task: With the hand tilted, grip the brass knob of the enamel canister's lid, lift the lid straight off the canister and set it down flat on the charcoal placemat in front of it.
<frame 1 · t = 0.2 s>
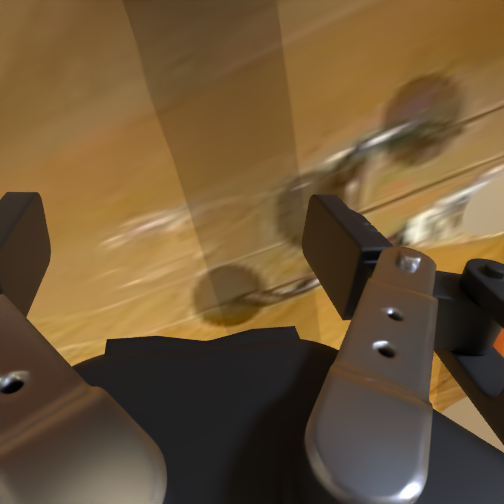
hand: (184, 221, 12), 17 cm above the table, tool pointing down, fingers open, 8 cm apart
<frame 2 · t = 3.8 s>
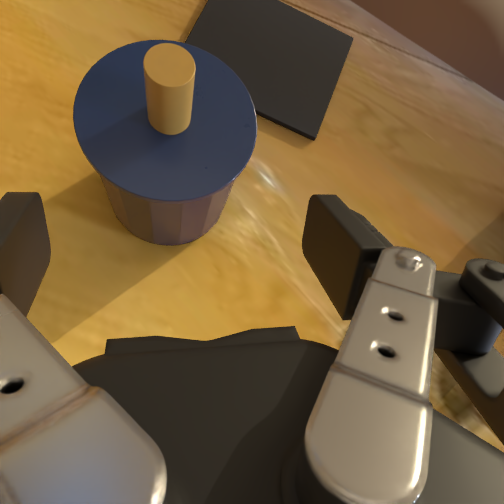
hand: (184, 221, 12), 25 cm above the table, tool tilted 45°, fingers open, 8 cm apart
lid: (169, 121, 27), point 12 cm above the table, touching canister
mat: (266, 56, 45), on the table
canister: (169, 191, 39), on the table
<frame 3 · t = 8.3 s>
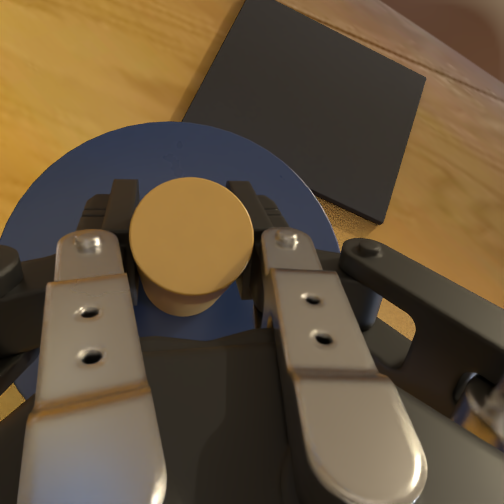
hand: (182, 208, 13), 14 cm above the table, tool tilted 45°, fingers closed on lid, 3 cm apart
lid: (183, 278, 14), point 13 cm above the table, touching canister, gripper
mat: (312, 104, 32), on the table
when the fingers open (3 cm above the table, at t = 20.6 s): lid stays where it is, resting on mat.
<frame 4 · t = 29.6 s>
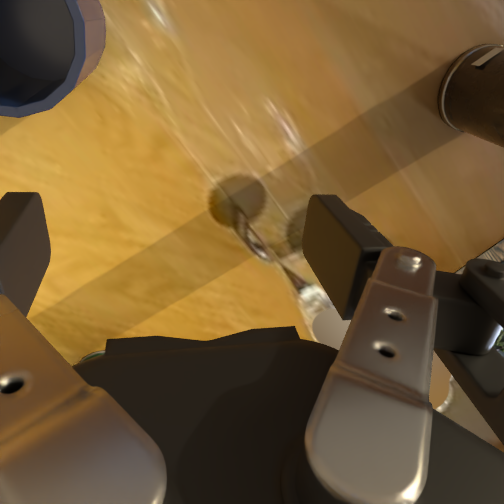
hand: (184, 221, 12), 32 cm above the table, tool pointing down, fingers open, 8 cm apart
canister: (39, 20, 35), on the table
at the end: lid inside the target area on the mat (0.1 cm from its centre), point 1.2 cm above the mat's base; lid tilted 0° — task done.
